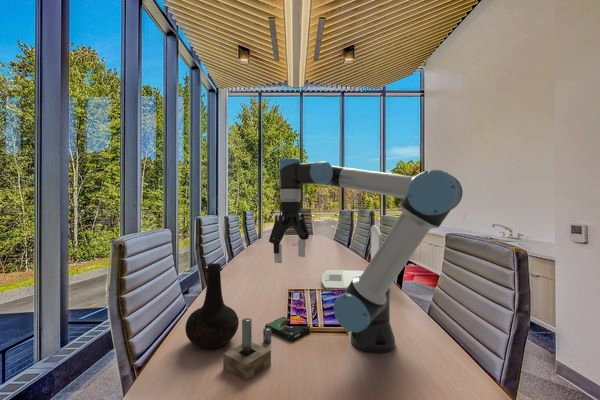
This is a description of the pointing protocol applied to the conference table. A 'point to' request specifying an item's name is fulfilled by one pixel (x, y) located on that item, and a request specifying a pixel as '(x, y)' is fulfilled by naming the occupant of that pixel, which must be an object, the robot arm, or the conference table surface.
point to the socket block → (246, 361)
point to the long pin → (246, 337)
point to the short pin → (267, 335)
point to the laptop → (344, 277)
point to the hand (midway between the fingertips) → (290, 259)
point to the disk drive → (287, 329)
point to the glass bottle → (212, 315)
